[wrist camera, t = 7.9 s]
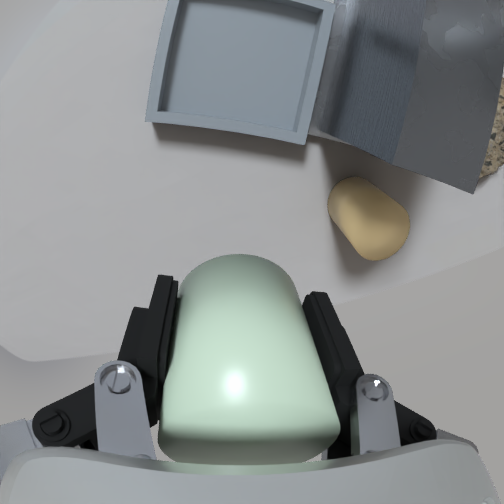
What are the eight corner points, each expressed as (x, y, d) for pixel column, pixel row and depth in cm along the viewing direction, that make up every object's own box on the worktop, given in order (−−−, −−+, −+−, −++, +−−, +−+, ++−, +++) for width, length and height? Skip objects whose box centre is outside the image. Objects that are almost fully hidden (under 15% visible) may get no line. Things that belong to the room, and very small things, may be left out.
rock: (433, 176, 26) (460, 190, 22) (430, 63, 20) (460, 64, 16) (496, 171, 26) (521, 184, 22) (498, 77, 20) (526, 82, 16)
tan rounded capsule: (382, 183, 25) (418, 208, 20) (366, 230, 28) (396, 263, 22) (335, 171, 25) (365, 194, 19) (321, 222, 27) (344, 256, 22)
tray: (327, 10, 18) (335, 4, 16) (298, 140, 23) (304, 145, 21) (178, -17, 16) (175, -25, 14) (150, 119, 21) (144, 121, 19)
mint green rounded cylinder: (312, 262, 11) (371, 396, 6) (280, 351, 14) (305, 471, 8) (180, 246, 11) (152, 393, 5) (174, 342, 13) (161, 469, 8)
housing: (415, 16, 18) (514, 1, 7) (385, 154, 24) (478, 205, 14) (337, -18, 16) (417, -73, 6) (305, 132, 23) (374, 170, 12)
